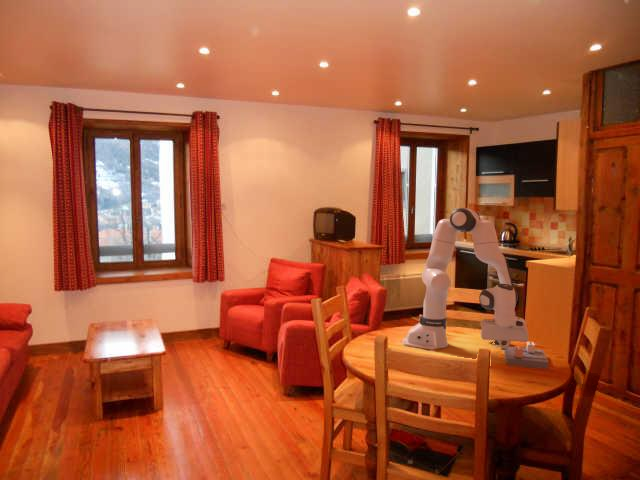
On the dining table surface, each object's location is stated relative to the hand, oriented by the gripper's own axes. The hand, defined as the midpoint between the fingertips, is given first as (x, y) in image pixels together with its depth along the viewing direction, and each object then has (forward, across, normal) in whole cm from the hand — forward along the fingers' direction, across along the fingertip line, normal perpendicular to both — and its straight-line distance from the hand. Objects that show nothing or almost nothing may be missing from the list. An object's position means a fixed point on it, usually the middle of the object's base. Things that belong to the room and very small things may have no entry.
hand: (504, 349), depth 224 cm
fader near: (+2, +6, -1) cm, 6 cm away
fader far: (+2, +12, +8) cm, 15 cm away
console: (+6, +10, +4) cm, 12 cm away
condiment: (+6, 0, +27) cm, 28 cm away
